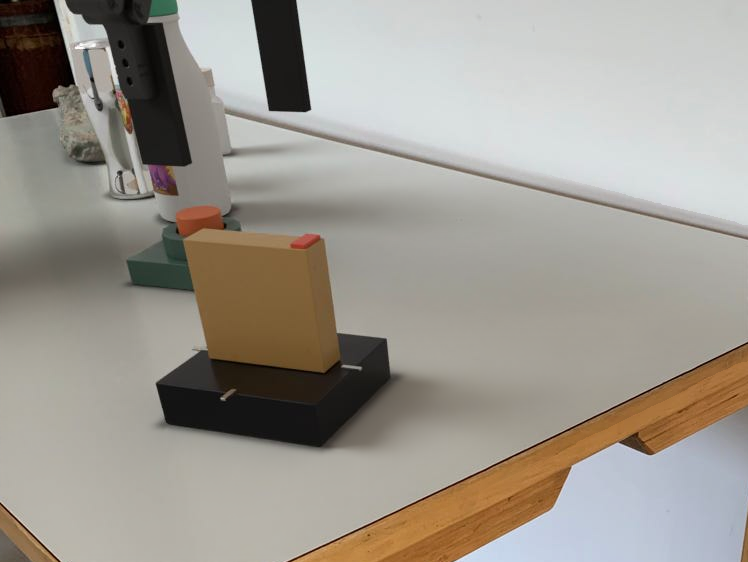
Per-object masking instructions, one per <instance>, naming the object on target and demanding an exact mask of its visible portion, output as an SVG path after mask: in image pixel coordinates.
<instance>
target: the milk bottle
mask: <svg viewBox="0 0 748 562" xmlns="http://www.w3.org/2000/svg"><path fill="white" fill-rule="evenodd" d="M180 19H181V17H180V15H179V6H178V1H177V0H152V3H151V9H150V14H149V19H148V22H147V23H163V27H164V32H165V36H166V41H167V46H168V50H169V55H170V60H171V65H172V69H173V74H174V79H175V84H176V88H177V93H178V98H179V102H180V107H181V112H182V117H183V121H184V126H185V131H186V136H187V140H188V145H189V150H190V154H191V159H192V164H190V165H187V166H185V167H180V166H161V165H148V168H149V172H150V176H151V181H152V185H153V189H154V193H155V195H154V198H155V202H156V206H157V209H158V213H159V215H160V217H161V218H162V219H163V220H165V221H168V222H172V223H176V222H177V221H176V217H175V214H176V213H177V212H178V211H180V210H183V209H186V208H190V207H196V206H213V207H217V208H219V209H220V210H221V215H222V217H224V216H225V215H227V214H229V212H230V211H231V210H232V200H231V194H230V188H229V182H228V177H227V171H226V166H225V161H224V157H223V156H224V155H222V150H221V145H220V140H219V135H218V130H217V125H216V120H215V115H214V110H213V106H212V101H211V97H210V92H209V89H208V86H207V83H206V80H205V78H204V75H203V73H202V71H201V69H200V68H201V67H200V66H199V64H198V62H197V60H196V59H195V58H194V56H193V54H192V52H191V50H190V48H189V47H188V45H187V43H186V41H185V39H184V36H183V34H182V31H181V28H180V24H179V20H180Z"/></svg>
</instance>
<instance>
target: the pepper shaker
mask: <svg viewBox="0 0 748 562" xmlns="http://www.w3.org/2000/svg"><path fill="white" fill-rule="evenodd" d="M200 69H201V71H202V73H203V75H204V78H205V80H206V83H207V86H208V89H209V92H210V97H211V101H212V106H213V110H214V115H215V120H216V125H217V130H218V135H219V140H220V145H221V150H222V156H225V155H228V154H231V153H232V144H231V139H230V132H229V127H228V122H227V117H226V111H225V106H224V102H223V100H222V99H221V97H219V96H217V94H216V89H215V86H216V85H215V80H214V76H213V75H214V74H213V70H212V68H210V67H200Z"/></svg>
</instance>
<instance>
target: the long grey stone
mask: <svg viewBox="0 0 748 562" xmlns="http://www.w3.org/2000/svg"><path fill="white" fill-rule="evenodd" d="M52 99H53V100H52V101H53V102H54V103H56V104H57V106H58V114H59V115H60V119H61V123H60V128H59V141H60V143H61V145H62V148H63V150H66V152H67V156H68V157H69V158H73V159H74V160H77V161H79V162H94V163H95V162H106V160H105V157H104V154H103V151H102V149H101V146H100V144H99V142H98V139H97V137H96V135H95V132H94V130H93V128H92V125H91V123H90V121H89V118H88V116H87V113H86V110H85V108H84V105H83V102H82V99H81V95H80V92H79V88H78V85H75V84H70V85H69V86H68V87H65V86H63V85H58V87H56V88H55V89H53V91H52Z"/></svg>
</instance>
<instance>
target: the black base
mask: <svg viewBox="0 0 748 562" xmlns="http://www.w3.org/2000/svg"><path fill="white" fill-rule="evenodd" d="M337 336H338V344H339V351H340V360H339V361H338V362H336V363H335V364H334V365H333V366H332V367H331V368H330V369H328V370H327V371H326V372H325V373H321V372H313V371H305V370H297V369H289V368H282V367H274V366H266V365H258V364H250V363H242V362H235V361H227V360H219V359H211V358H209V354H208V350H207V346H204V347H203V346H197V345H196V346H195V345H194V346H192V347H191V351H195V352H196V353H195V354H194V355H193V356H191V357H190V358H188V359H187V360H186V361H184V362H183V363H181V364H180V365H178V366H177V367H176V368H174V369H173V370H171V371H170V372H169V373H167V374H166V375H165V376H162V377H161V378H160V379H159V380H157V381H156V382H155V386H156V391H157V395H158V399H159V402H160V405H161V410H162V413H163V416H164V421H165V423H166V424H169V425H174V426H175V425H176V426H182V427H189V428H194V429H195V428H196V429H202V430H209V431H213V432H214V431H215V432H221V433H227V434H235V435H240V436H246V437H247V436H248V437H255V438H260V439H268V440H272V441H273V440H274V441H280V442H287V443H293V444H300V445H307V446H313V447H319V448H320V447H323V446H324V444H325V443H326V442H328V440H330V439H331V438H332V437H333V435H335V434H336V432H338V431H339V429H341V427H343V426H344V425H345V423H347V422H348V421H349V420H350V419H351V417H352V416H354V415H355V414H356V413H357V411H359V410H360V409H361V408H362V407H363V406H364V405H365V404H366V403H367V402H368V401H369V400H370V399H371V398H372V397H373V396H374V395H375V394H376V393H377V392H378V391H379V390H380V389H381V388H382V387H383V386H384V385H385V384H386V383H388V381H389V380H390V379H391V365H390V356H389V346H388V340H387V338H386V337H378V336H369V335H360V334H351V333H340V332H337Z"/></svg>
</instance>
